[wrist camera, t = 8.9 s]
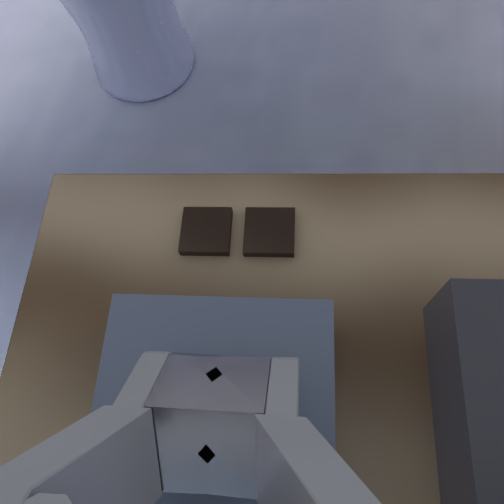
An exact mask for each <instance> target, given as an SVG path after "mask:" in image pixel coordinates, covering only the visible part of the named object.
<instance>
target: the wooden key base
mask: <svg viewBox="0 0 504 504" xmlns="http://www.w3.org/2000/svg"><path fill="white" fill-rule="evenodd" d="M450 278H463V279H504V174H54V177H53V181H52V184H51V188H50V192H49V196H48V199H47V203H46V207H45V211H44V215H43V218H42V222H41V226H40V230H39V234H38V237H37V241H36V245H35V249H34V252H33V256H32V260H31V264H30V268H29V271H28V275H27V279H26V283H25V286H24V290H23V294H22V298H21V302H20V305H19V309H18V313H17V317H16V321H15V324H14V328H13V332H12V336H11V339H10V343H9V347H8V351H7V355H6V358H5V362H4V366H3V370H2V374H1V377H0V467H1V466H2V465H4V464H6V463H7V462H9V461H11V460H12V459H14V458H16V457H18V456H19V455H21V454H23V453H24V452H26V451H28V450H29V449H31V448H33V447H34V446H36V445H38V444H40V443H41V442H43V441H45V440H46V439H48V438H50V437H51V436H53V435H55V434H56V433H58V432H60V431H61V430H63V429H65V428H67V427H68V426H70V425H72V424H73V423H75V422H77V421H78V420H80V419H82V418H83V417H85V416H87V415H88V414H90V413H91V408H92V403H93V397H94V392H95V386H96V381H97V376H98V370H99V365H100V359H101V354H102V348H103V343H104V337H105V332H106V327H107V321H108V316H109V310H110V305H111V299H112V294H146V295H183V296H220V297H257V298H294V299H331V300H334V367H335V439H336V452H337V453H338V454H339V455H340V456H341V457H342V459H343V460H344V461H345V462H346V463H347V464H348V465H349V467H350V468H351V469H352V470H353V471H354V472H355V474H356V475H357V476H358V477H359V478H360V479H361V480H362V482H363V483H364V484H365V485H366V486H367V487H368V489H369V490H370V491H371V492H372V493H373V494H374V495H375V497H376V498H377V499H378V500H379V501H380V502H381V504H441V502H440V491H439V480H438V470H437V459H436V448H435V437H434V426H433V415H432V405H431V394H430V383H429V372H428V361H427V350H426V340H425V329H424V318H423V308H424V307H425V306H426V305H427V303H428V302H429V301H430V300H431V299H432V298H433V297H434V296H435V295H436V293H437V292H438V291H439V290H440V289H441V288H442V287H443V286H444V285H445V283H446V282H447V281H448V280H449V279H450Z"/></svg>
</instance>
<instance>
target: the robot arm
mask: <svg viewBox="0 0 504 504" xmlns="http://www.w3.org/2000/svg"><path fill="white" fill-rule="evenodd" d="M299 362H300V360H299V358H298V357H272V358H271V357H242V356H222V355H211V354H196V353H181V352H172V353H171V352H164V351H146V352H144V353H143V354H142V355H141V357H140V358H139V360H138V362H137V363H136V365H135V367H134V369H133V370H132V372H131V374H130V376H129V377H128V379H127V381H126V382H125V384H124V386H123V388H122V389H121V391H120V393H119V395H118V396H117V398H116V400H115V401H114V403H113V405H104V406H102V407H100V408H99V409H97V410H95V411H94V412H92V413H90V414H88V415H87V416H85V417H83V418H82V419H80V420H78V421H77V422H75V423H73V424H72V425H70V426H68V427H67V428H65V429H63V430H61V431H60V432H58V433H56V434H55V435H53V436H51V437H50V438H48V439H46V440H45V441H43V442H41V443H40V444H38V445H36V446H34V447H33V448H31V449H29V450H28V451H26V452H24V453H23V454H21V455H19V456H18V457H16V458H14V459H12V460H11V461H9V462H7V463H6V464H4V465H2V466H1V467H0V504H154V503H155V502H156V501H157V500H158V499H159V498H160V497H161V496H162V492H170V493H191V494H210V495H219V496H228V497H238V498H247V499H256V500H257V502H258V504H381V502H380V501H379V500H378V499H377V498H376V497H375V495H374V494H373V493H372V492H371V491H370V490H369V489H368V487H367V486H366V485H365V484H364V483H363V482H362V480H361V479H360V478H359V477H358V476H357V475H356V474H355V472H354V471H353V470H352V469H351V468H350V467H349V465H348V464H347V463H346V462H345V461H344V460H343V459H342V457H341V456H340V455H339V454H338V453H337V452H336V450H335V449H334V448H333V447H332V446H331V445H330V444H329V442H328V441H327V440H326V439H325V438H324V437H323V435H322V434H321V433H320V432H319V431H318V430H317V429H316V427H315V426H314V425H313V424H312V423H311V422H310V420H309V419H308V418H307V417H299V416H298V412H299Z"/></svg>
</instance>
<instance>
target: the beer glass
mask: <svg viewBox="0 0 504 504" xmlns="http://www.w3.org/2000/svg"><path fill="white" fill-rule="evenodd" d="M59 1H60V2H61V3H62V4H63V6H64V7H65V8H66V10H67V11H68V13H69V14H70V15H71V17H72V18H73V19H74V21H75V22H76V24H77V26H78V27H79V29H80V31H81V32H82V34H83V36H84V38H85V40H86V43H87V45H88V48H89V51H90V54H91V57H92V61H93V64H94V68H95V71H96V74H97V77H98V79H99V82H100V83H101V85H102V87H103V88H104V89H105V90H106V91H107V92H108V93H109V94H111V95H112V96H114V97H116V98H118V99H121V100H124V101H129V102H146V101H152V100H156V99H159V98H161V97H164V96H166V95H168V94H170V93H171V92H173V91H174V90H176V89H177V88H178V87H180V86H181V85H182V84H183V83H184V82H185V80H186V79H187V78H188V76H189V75H190V73H191V71H192V68H193V64H194V50H193V47H192V44H191V41H190V39H189V37H188V35H187V33H186V31H185V29H184V27H183V25H182V23H181V21H180V19H179V17H178V14H177V12H176V9H175V6H174V3H173V0H59Z"/></svg>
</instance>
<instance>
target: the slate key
mask: <svg viewBox="0 0 504 504" xmlns="http://www.w3.org/2000/svg"><path fill="white" fill-rule="evenodd" d="M146 351H164V352H171V353H172V352H181V353H196V354H211V355H222V356H242V357H271V358H272V357H298V358H299V360H300V362H299V412H298V416H299V417H307V418H308V419H309V420H310V422H311V423H312V424H313V425H314V426H315V427H316V429H317V430H318V431H319V432H320V433H321V434H322V435H323V437H324V438H325V439H326V440H327V441H328V442H329V444H330V445H331V446H332V447H333V448H334V449H335V450H336V439H335V367H334V300H331V299H294V298H257V297H220V296H183V295H146V294H112V299H111V305H110V310H109V316H108V321H107V327H106V332H105V337H104V343H103V348H102V354H101V359H100V365H99V370H98V376H97V381H96V386H95V392H94V397H93V403H92V408H91V413H92V412H94V411H95V410H97V409H99V408H100V407H102V406H104V405H113V403H114V401H115V400H116V398H117V396H118V395H119V393H120V391H121V389H122V388H123V386H124V384H125V382H126V381H127V379H128V377H129V376H130V374H131V372H132V370H133V369H134V367H135V365H136V363H137V362H138V360H139V358H140V357H141V355H142V354H143V353H144V352H146ZM154 504H258V502H257V500H256V499H247V498H238V497H228V496H219V495H210V494H191V493H170V492H162V496H161V497H160V498H159V499H158V500H157V501H156V502H155V503H154Z"/></svg>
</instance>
